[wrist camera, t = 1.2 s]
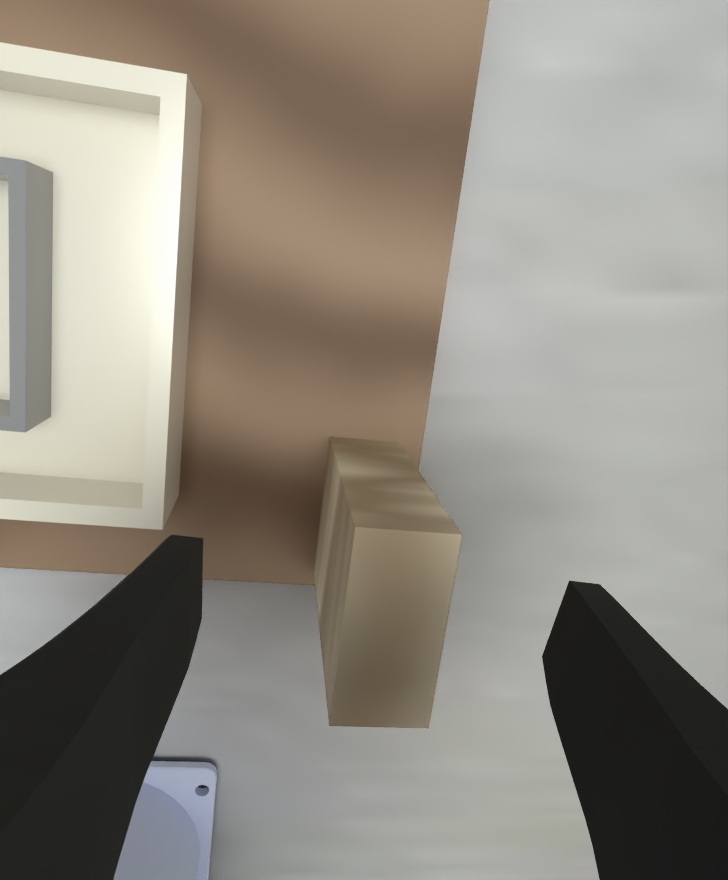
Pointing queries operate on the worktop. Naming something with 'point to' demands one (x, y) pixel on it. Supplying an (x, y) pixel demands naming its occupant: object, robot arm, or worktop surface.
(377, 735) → the worktop surface
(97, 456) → the cream square tray
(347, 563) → the tall bronze block
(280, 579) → the board
